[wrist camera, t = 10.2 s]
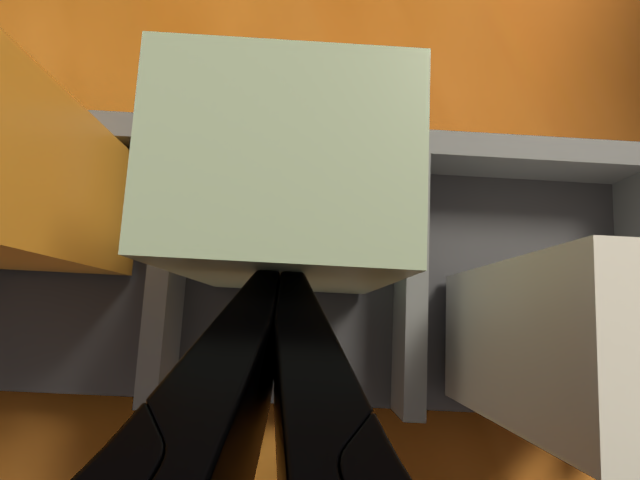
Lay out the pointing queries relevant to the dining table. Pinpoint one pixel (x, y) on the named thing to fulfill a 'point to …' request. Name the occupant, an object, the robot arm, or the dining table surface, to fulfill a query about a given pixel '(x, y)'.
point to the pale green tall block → (279, 161)
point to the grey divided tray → (340, 308)
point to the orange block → (56, 175)
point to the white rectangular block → (554, 350)
